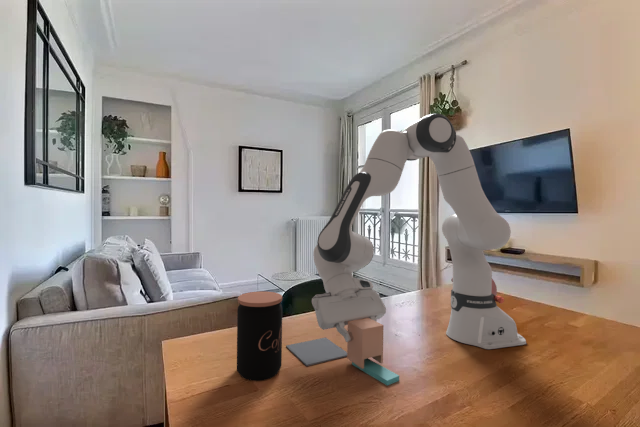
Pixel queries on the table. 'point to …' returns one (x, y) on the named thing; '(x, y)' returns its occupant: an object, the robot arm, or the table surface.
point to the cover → (365, 341)
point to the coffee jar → (259, 335)
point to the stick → (378, 372)
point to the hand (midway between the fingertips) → (363, 337)
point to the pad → (316, 351)
